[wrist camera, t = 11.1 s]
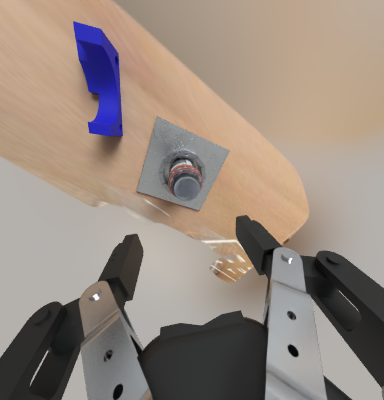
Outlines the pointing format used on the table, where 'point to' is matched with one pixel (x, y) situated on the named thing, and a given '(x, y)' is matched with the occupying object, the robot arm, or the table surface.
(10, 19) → the table surface
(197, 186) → the supplement bottle
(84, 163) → the table surface
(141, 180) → the duct panel
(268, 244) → the robot arm
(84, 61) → the blue notched bracket
